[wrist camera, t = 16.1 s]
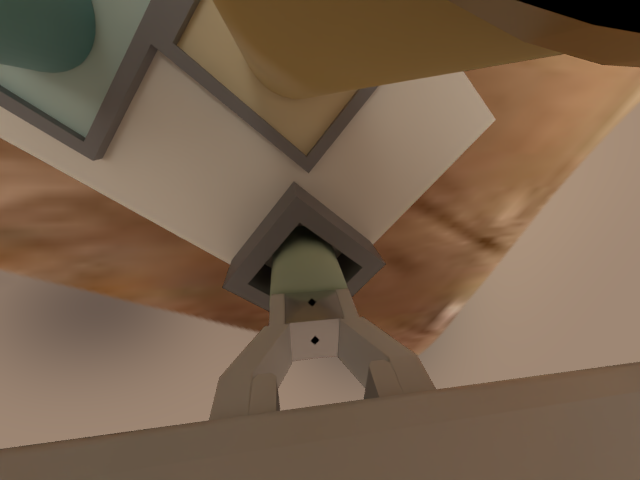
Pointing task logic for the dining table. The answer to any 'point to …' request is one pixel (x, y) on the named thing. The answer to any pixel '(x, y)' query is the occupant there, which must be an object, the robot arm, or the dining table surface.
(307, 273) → the button
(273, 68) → the knob
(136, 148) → the white flat board
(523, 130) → the dining table surface
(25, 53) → the teal marker
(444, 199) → the dining table surface
